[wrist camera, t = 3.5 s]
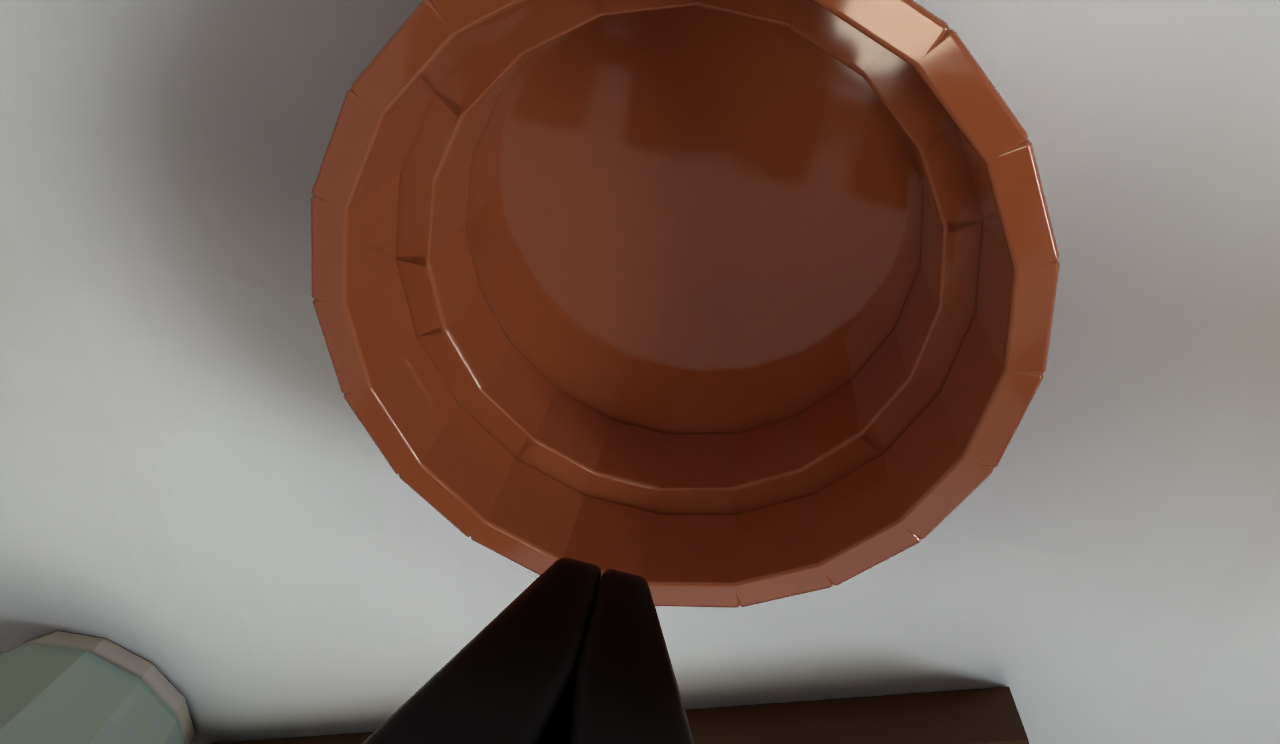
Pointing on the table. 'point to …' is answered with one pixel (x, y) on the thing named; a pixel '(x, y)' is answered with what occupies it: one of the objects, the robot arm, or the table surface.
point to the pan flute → (837, 721)
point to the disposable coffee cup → (87, 695)
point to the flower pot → (685, 281)
